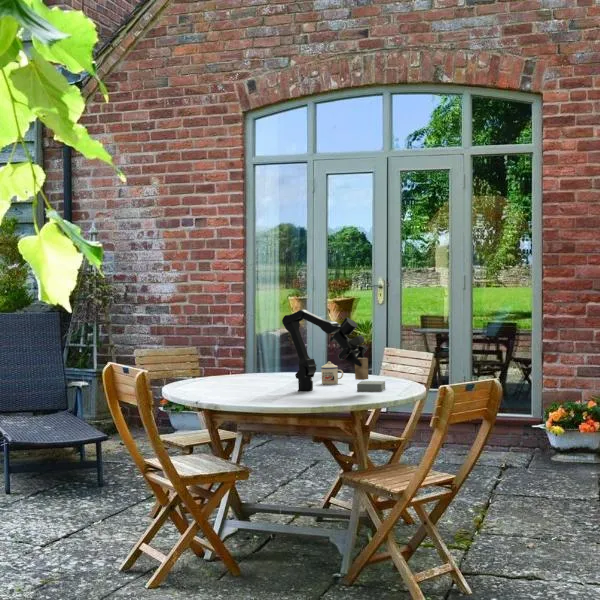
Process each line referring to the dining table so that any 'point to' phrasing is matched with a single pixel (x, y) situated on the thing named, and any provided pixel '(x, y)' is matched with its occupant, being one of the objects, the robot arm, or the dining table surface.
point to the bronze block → (361, 369)
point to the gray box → (371, 386)
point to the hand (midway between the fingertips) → (363, 365)
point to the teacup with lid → (330, 373)
